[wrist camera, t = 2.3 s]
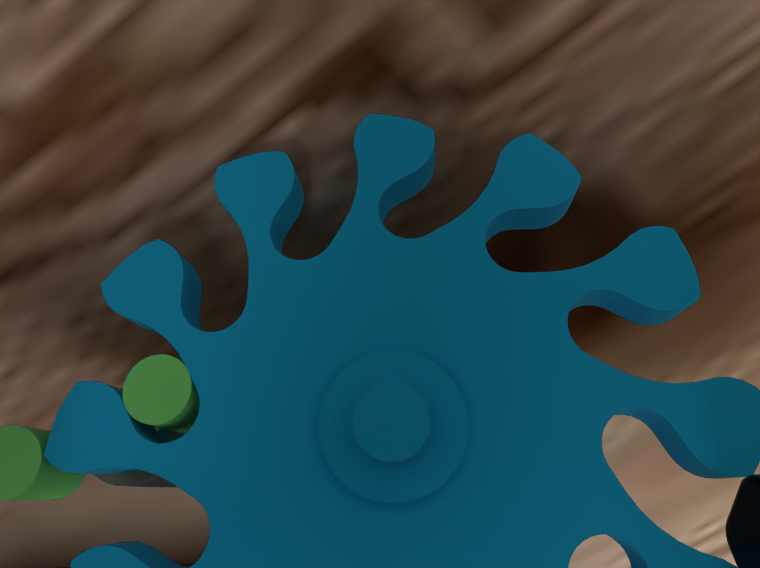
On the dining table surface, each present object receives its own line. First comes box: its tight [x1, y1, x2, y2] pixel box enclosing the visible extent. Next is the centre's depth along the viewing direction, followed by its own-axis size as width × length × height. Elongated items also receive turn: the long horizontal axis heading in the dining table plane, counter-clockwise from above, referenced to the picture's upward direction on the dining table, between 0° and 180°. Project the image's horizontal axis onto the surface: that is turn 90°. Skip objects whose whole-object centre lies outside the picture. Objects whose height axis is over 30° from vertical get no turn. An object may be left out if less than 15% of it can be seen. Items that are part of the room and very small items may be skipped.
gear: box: [0, 114, 760, 568], centre depth 11 cm, size 11×6×10 cm
